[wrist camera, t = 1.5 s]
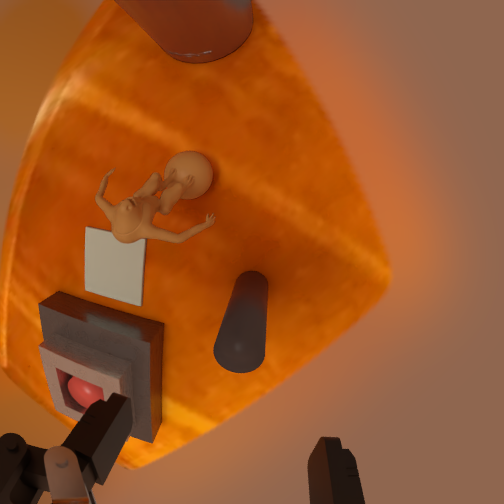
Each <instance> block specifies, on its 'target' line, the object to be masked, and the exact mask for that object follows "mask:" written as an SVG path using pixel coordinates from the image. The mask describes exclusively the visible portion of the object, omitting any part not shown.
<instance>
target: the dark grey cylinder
mask: <svg viewBox="0 0 504 504" xmlns="http://www.w3.org/2000/svg"><path fill="white" fill-rule="evenodd" d="M267 300H268V283H267V280H266V278H265V277H264V276H263V275H262V274H261V273H259V272H256V271H247V272H244V273H242V274H241V275H240V276H239V277H238V278H237V280H236V283H235V286H234V289H233V292H232V295H231V298H230V300H229V303H228V306H227V309H226V312H225V315H224V318H223V321H222V324H221V327H220V330H219V333H218V336H217V339H216V342H215V345H214V350H213V351H214V356H215V359H216V360H217V362H218V363H219V364H220V365H221V366H222V367H223V368H225V369H227V370H229V371H231V372H235V373H247V372H251V371H253V370H255V369H257V368H258V367H259V366H260V365H261V364H262V362H263V360H264V357H265V342H266V321H267Z"/></svg>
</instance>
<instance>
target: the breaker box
mask: <svg viewBox="0 0 504 504" xmlns="http://www.w3.org/2000/svg"><path fill="white" fill-rule="evenodd" d="M38 305H39V312H40V319H41V326H42V332H43V338H44V341H43V342H42V343H41V344H40V345H39V350H40V354H41V359H42V363H43V367H44V371H45V375H46V379H47V382H48V386H49V389H50V393H51V396H52V399H53V402H54V406H55V409H56V410H57V411H59V412H61V413H63V414H64V415H66V416H68V417H70V418H73V419H75V420H77V421H80V419H81V417H82V416H83V414H85V412H86V410H87V408H85V407H83V406H82V405H80V404H79V403H78V402H77V401H76V400H75V399H74V398H73V397H72V395H71V394H70V392H69V389H68V382H69V380H70V379H71V378H72V377H73V376H75V377H77V378H80V379H82V380H84V381H87V382H89V383H91V384H94V385H96V386H99V387H101V388H103V394H104V400H105V401H107V400H108V398H109V397H110V395H111V394H112V393H113V392H115V393H118V394H121V395H123V396H126V397H129V398H130V399H131V405H132V415H133V425H132V429H131V432H130V434H129V436H128V438H127V439H126V441H128V439H129V437H130V436H132V437H134V438H137V439H140V440H143V441H146V442H149V443H153V442H154V439H155V437H156V435H157V432H158V430H159V428H160V425H161V423H162V416H161V395H162V354H163V332H164V323H160V322H157V321H153V320H149V319H145V318H142V317H138V316H135V315H131V314H128V313H124V312H121V311H118V310H114V309H111V308H108V307H105V306H102V305H98V304H95V303H92V302H89V301H86V300H83V299H80V298H77V297H74V296H71V295H69V294H66V293H63V292H60V291H58V292H56V293H55V294H53V295H51V296H50V297H48V298H47V299H45V300H43V301H42V302H40V303H39V304H38Z"/></svg>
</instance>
